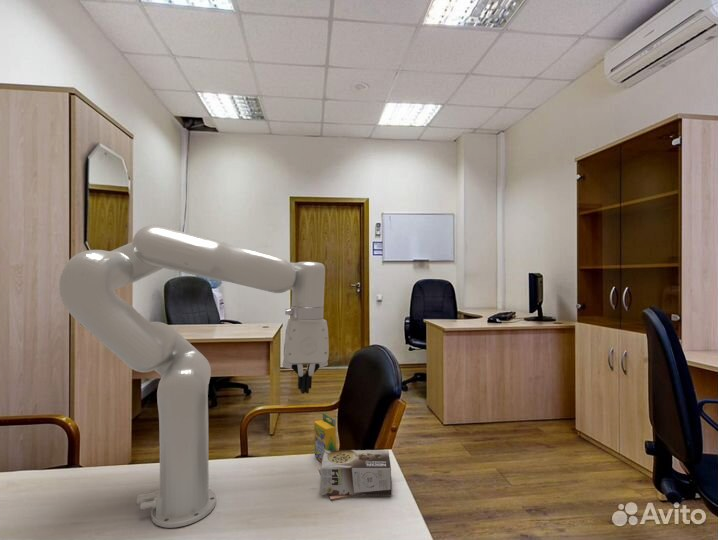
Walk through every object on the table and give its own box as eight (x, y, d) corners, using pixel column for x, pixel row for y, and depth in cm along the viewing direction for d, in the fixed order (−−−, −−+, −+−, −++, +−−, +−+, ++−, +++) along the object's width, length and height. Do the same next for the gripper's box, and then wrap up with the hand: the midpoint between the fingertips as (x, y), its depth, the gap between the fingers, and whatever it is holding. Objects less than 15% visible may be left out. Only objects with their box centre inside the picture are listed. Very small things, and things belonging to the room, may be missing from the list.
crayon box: (314, 457, 102) (313, 414, 103) (323, 455, 104) (323, 412, 105) (326, 467, 96) (326, 421, 97) (336, 464, 98) (336, 419, 98)
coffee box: (319, 496, 84) (391, 497, 84) (319, 467, 84) (391, 467, 84) (324, 475, 93) (389, 475, 93) (324, 448, 93) (389, 449, 93)
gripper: (276, 315, 83) (273, 399, 82) (342, 315, 87) (338, 395, 87) (273, 312, 90) (270, 388, 90) (334, 312, 94) (331, 385, 94)
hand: (304, 391), depth 88 cm, fingers closed
